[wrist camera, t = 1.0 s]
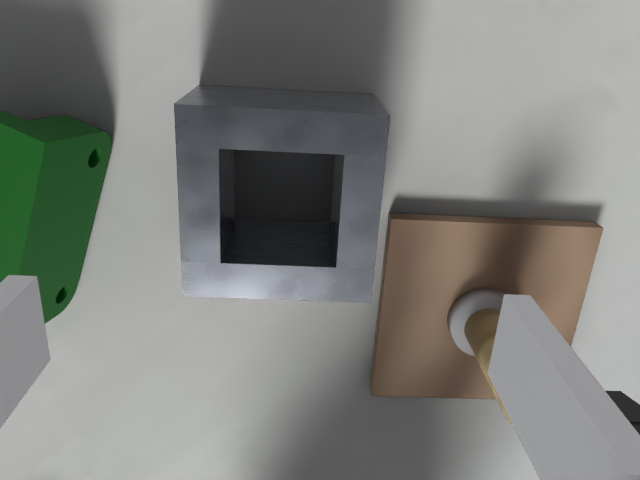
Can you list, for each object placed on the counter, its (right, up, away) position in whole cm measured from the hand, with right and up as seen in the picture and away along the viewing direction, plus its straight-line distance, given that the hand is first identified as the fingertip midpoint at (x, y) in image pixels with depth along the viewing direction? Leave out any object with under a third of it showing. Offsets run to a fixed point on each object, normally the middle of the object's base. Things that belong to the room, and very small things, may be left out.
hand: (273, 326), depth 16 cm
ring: (-1, +6, +14) cm, 16 cm away
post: (+11, -2, +18) cm, 21 cm away
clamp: (-15, +5, +15) cm, 21 cm away
